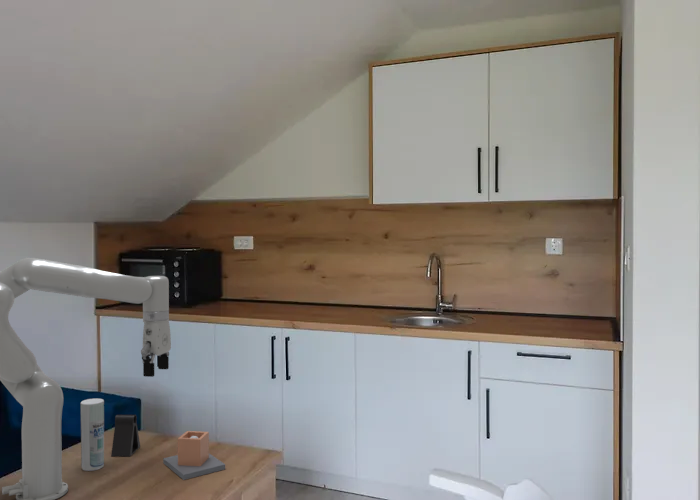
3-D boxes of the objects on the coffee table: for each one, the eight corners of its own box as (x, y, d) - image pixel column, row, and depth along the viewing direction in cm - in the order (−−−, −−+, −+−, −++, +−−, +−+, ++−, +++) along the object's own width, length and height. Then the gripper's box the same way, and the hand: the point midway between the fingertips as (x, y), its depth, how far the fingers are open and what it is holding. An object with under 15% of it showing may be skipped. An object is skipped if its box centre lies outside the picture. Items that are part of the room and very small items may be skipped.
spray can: (92, 461, 185) (91, 397, 185) (109, 464, 183) (108, 399, 183) (76, 469, 179) (75, 403, 178) (93, 472, 177) (93, 405, 176)
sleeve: (200, 466, 178) (200, 439, 178) (177, 465, 179) (177, 438, 178) (208, 457, 185) (208, 431, 184) (187, 456, 186) (187, 430, 185)
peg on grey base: (183, 479, 171) (183, 448, 171) (163, 463, 184) (163, 433, 184) (225, 469, 179) (225, 438, 179) (203, 453, 192) (202, 425, 192)
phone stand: (122, 446, 198) (122, 410, 198) (140, 446, 198) (140, 411, 198) (111, 456, 189) (110, 419, 189) (129, 456, 189) (129, 419, 189)
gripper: (154, 320, 173) (155, 379, 173) (179, 313, 190) (179, 366, 190) (130, 320, 174) (130, 378, 174) (157, 312, 191) (157, 366, 191)
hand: (156, 372), depth 182 cm, fingers open, 9 cm apart
